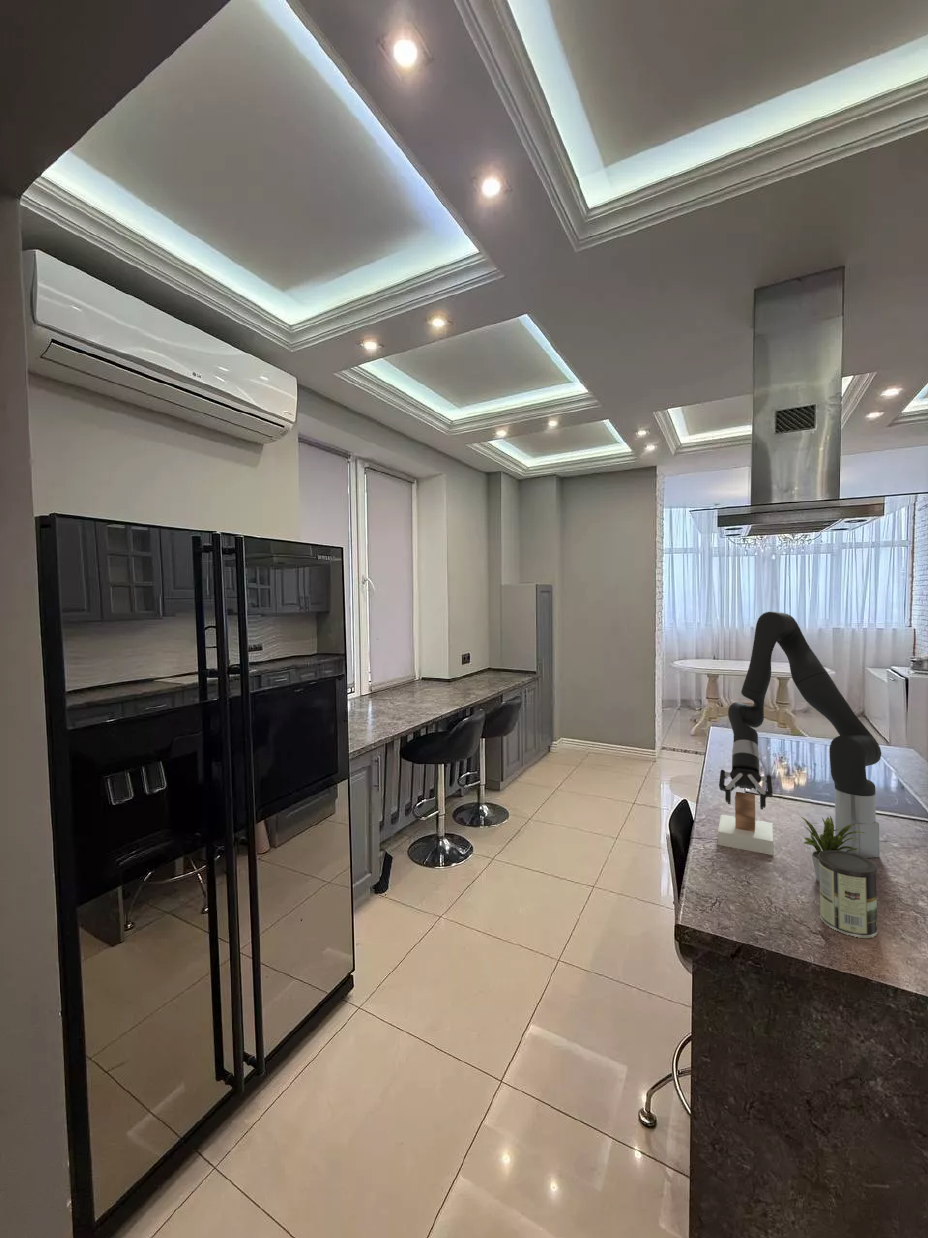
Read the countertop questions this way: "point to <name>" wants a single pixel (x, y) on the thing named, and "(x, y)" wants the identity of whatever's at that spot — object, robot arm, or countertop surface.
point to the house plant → (827, 840)
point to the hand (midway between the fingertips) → (745, 805)
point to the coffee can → (848, 893)
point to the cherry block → (745, 811)
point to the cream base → (746, 836)
